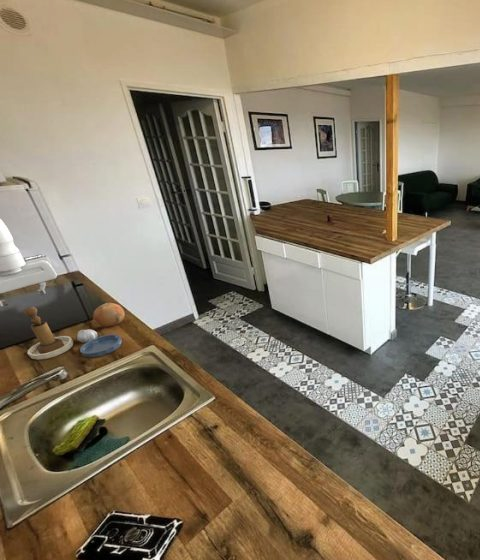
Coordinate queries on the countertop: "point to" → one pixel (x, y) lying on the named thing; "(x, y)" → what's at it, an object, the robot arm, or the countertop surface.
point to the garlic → (86, 335)
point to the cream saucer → (36, 355)
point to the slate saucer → (101, 346)
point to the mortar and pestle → (43, 333)
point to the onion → (108, 314)
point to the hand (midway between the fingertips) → (23, 299)
